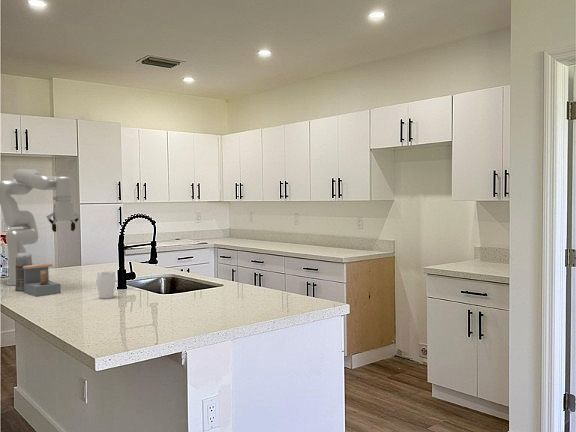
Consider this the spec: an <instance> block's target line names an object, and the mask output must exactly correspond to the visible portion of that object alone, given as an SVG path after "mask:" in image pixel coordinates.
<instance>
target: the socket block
mask: <svg viewBox="0 0 576 432" xmlns="http://www.w3.org/2000/svg"><path fill="white" fill-rule="evenodd" d="M50 267H53V264H52V263H41V264H39V263H38V264H32V265H28V266H23V268H24V292H23V293H24V294H28V295H31V296H33V297H36V298H37V297H44V295H45V296H51V295H50V294H52V295H58V294H57V293H59V294H61V283H59V282H55V281H51V280H50V279H49V278H50V277H49V276H50V275H49V272H48V281H49V285H41V272H40V271H42V270H48V271H49V268H50Z"/></svg>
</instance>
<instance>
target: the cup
mask: <svg viewBox="0 0 576 432" xmlns="http://www.w3.org/2000/svg"><path fill="white" fill-rule="evenodd" d="M116 278H117V277H116V272H114V271H103V272H98V273H96V279H95V280H96V285H97V292H98V297H99V298H100V299H111V298H113V297H115V296H114V295H115V287H116Z"/></svg>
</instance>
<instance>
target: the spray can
mask: <svg viewBox="0 0 576 432" xmlns="http://www.w3.org/2000/svg"><path fill="white" fill-rule="evenodd" d="M28 265H33V259H32V253H30V252H28V251H27V252H26V253H18V254H17V255H16V267H15V268H16V285H15V291H18V292H21V291H22V292H23V291H24V268H23V266H28Z"/></svg>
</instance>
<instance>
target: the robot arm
mask: <svg viewBox="0 0 576 432" xmlns="http://www.w3.org/2000/svg"><path fill="white" fill-rule="evenodd" d="M71 183H72V180H71V177H70V176H58V175H57V176H56V175H55V176H54V175H42V173H40V172H39V171H38V170H37V169H34V168H33V169H32V168H18V169H16V170H14V172H13V173H12V179H4V180H0V208H1V212H2V217H3V219H4V223H5V225H6V227H8V228H14V229H10V230H8V231H7V232H6V235H5V241H6V244H7V251H8V252H7V255H8V256H7V257H8V281H6V282H5V285H6V286H16V268H15V267H16V255H17V254H18V253H26V252H28V251H27V249H26V247H24V246H25V245H33V244H36V243H37V242H38V241H39V231H38V227H37V223H36V220H35V219H36V218H35V216H34V214H33V213H32V212H31V211H29V210H20V208H19V206H18V202H17V201H16V199H15V198H14V197H13V196H14V195H17V196H19V195H20V196H22V195H27V194H29V193H30V192H31V191H32V190H33V189H36V190H40V191H41V190H42V191H55V197H52V200H53V201H55V202H54V204H53V207H52V208H53V209H52V213H50V214H48V215H47V216H46V219H47V221H48V222H49V223H50V224H51V230H52V232H54V233H56V232H57V224H56V223H57V222H58V221H60V222H61V221H63V222H64V221H69V222H71V223H70V231H72V232H74V231H75V230H76V224H77V222H78V221H79V219H80V217H81V215H80V214H78V213H76V212H75V207H74V202H73V201H72V197H71V196H72V190H71V189H72V187H71V186H72V184H71ZM12 195H13V196H12Z"/></svg>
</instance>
